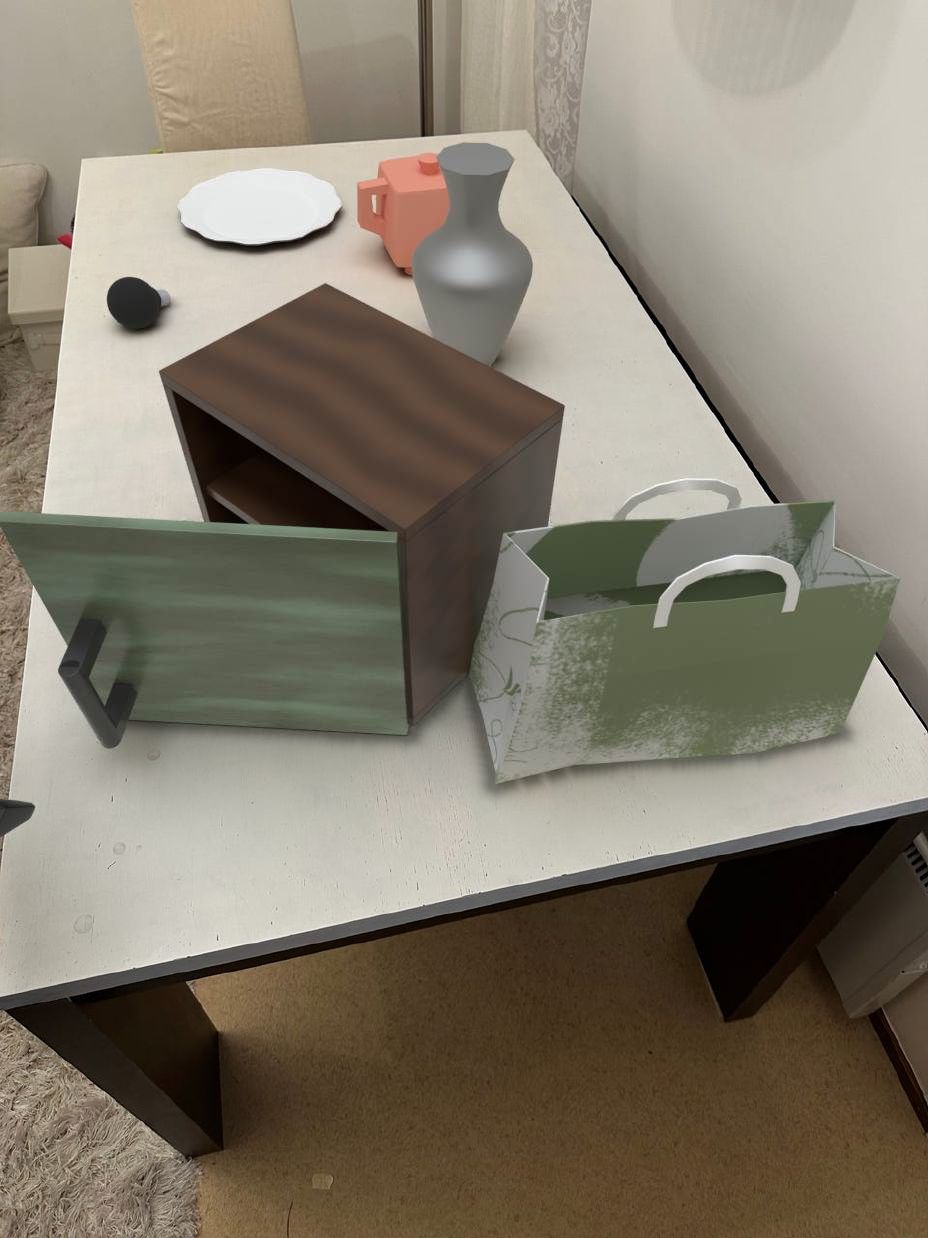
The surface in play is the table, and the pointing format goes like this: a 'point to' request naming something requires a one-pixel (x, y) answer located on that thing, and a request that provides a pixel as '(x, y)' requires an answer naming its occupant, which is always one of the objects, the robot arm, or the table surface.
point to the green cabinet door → (221, 621)
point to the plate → (259, 206)
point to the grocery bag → (674, 635)
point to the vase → (472, 257)
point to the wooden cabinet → (372, 455)
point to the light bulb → (135, 302)
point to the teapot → (404, 204)
